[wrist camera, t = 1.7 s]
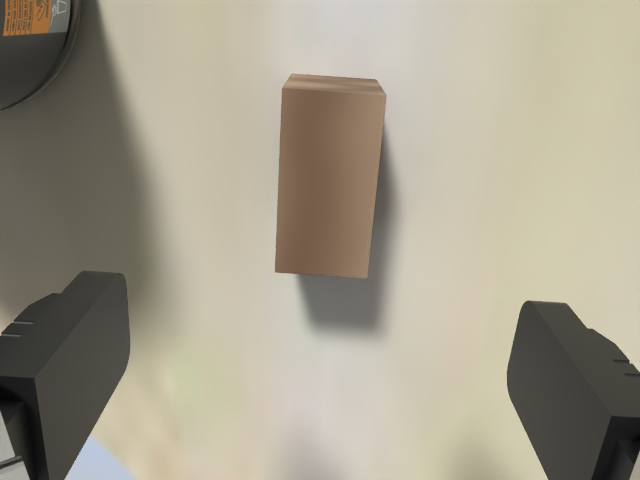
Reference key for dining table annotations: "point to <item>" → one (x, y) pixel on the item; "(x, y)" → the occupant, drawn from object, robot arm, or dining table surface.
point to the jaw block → (328, 174)
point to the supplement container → (34, 45)
